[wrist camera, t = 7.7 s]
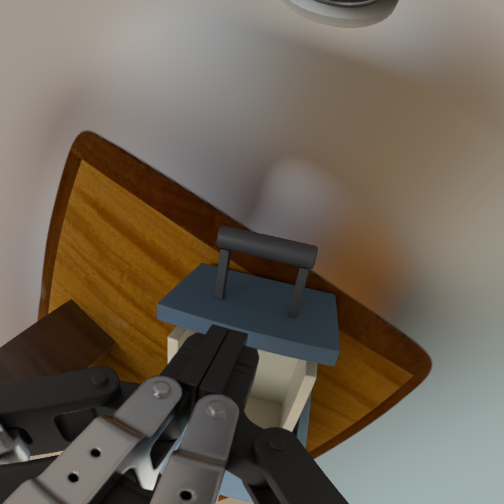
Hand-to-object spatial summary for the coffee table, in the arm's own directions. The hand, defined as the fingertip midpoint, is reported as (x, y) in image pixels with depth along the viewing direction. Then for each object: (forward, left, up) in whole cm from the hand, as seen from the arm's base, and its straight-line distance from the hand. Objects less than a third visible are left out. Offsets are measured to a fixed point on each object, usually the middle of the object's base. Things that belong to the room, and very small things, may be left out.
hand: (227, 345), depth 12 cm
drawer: (+6, +3, -12) cm, 14 cm away
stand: (+25, -12, -13) cm, 31 cm away
